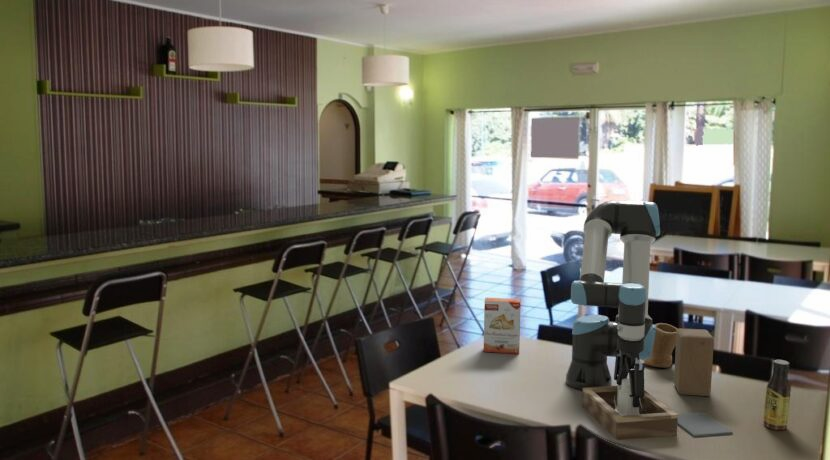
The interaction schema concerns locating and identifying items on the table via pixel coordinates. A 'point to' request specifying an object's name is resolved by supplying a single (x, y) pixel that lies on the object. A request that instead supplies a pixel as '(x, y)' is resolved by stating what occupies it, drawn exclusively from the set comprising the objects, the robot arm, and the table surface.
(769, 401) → the sauce bottle
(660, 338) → the tan boot
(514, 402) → the table surface
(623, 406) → the downlight
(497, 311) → the cracker box
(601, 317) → the robot arm
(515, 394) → the table surface
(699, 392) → the wooden block
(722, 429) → the rubber mat
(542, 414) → the table surface
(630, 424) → the open wooden box
